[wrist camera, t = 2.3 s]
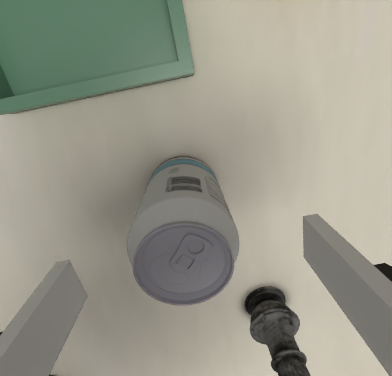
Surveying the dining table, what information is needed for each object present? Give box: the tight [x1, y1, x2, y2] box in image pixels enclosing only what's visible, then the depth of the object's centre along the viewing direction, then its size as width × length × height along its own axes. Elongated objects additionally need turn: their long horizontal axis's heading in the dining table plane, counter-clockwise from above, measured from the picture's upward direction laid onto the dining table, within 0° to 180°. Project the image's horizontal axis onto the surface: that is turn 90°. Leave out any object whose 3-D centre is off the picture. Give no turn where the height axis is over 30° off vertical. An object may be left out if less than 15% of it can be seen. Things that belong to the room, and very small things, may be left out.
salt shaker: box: [245, 287, 310, 376], centre depth 25 cm, size 6×6×12 cm
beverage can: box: [127, 157, 239, 305], centre depth 18 cm, size 7×7×12 cm
